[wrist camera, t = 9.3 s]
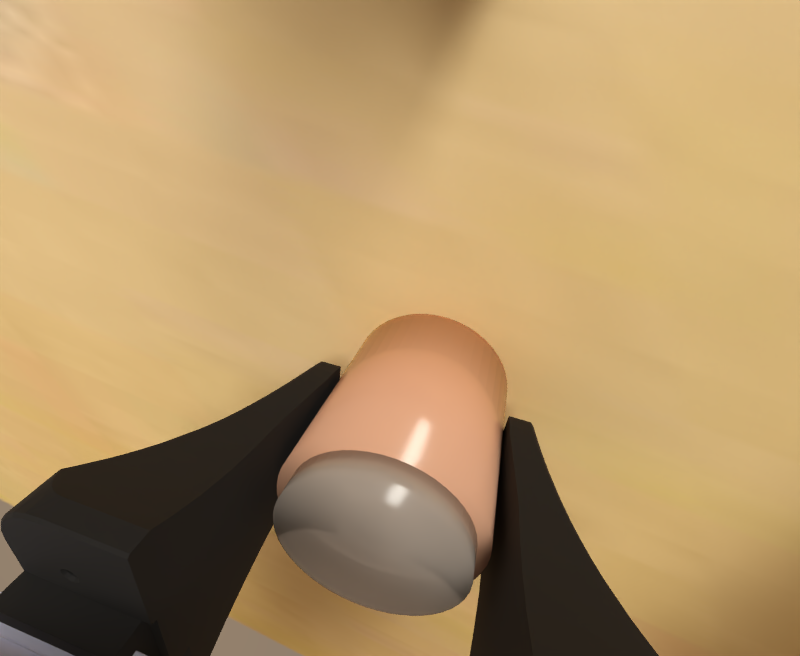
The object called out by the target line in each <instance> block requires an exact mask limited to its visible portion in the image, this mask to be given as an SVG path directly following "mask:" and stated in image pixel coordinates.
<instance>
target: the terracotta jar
mask: <svg viewBox="0 0 800 656" xmlns="http://www.w3.org/2000/svg"><path fill="white" fill-rule="evenodd" d="M506 397H507V379H506V373H505V370H504V367H503V364H502V363H501V361H500V359H499V357H498V355H497V354H496V352H495V351H494V349H493V348H492V347H491V346H490V345H489V344H488V342H487V341H486V340H485V339H483V338H482V337H481V336H480V335H479V334H478V333H476V332H475V331H473V330H472V329H470V328H469V327H467V326H465V325H463V324H461V323H459V322H456V321H454V320H451V319H448V318H445V317H441V316H436V315H428V314H413V315H405V316H401V317H397V318H394V319H392V320H389V321H387V322H385V323H384V324H382V325H380V326H379V327H378V328H376V329H375V330H374V331H373V332H372V333H371V334H370V335H369V336H368V337H367V339H366V340H365V342H364V343H363V345H362V346H361V348H360V349H359V351H358V352H357V354H356V356H355V357H354V359H353V360H352V362H351V363H350V365H349V366H348V368H347V369H346V371H345V372H344V374H343V375H342V377H341V378H340V380H339V381H338V383H337V384H336V386H335V387H334V389H333V390H332V392H331V393H330V395H329V396H328V398H327V399H326V401H325V402H324V404H323V405H322V407H321V408H320V410H319V411H318V413H317V414H316V416H315V417H314V419H313V420H312V422H311V424H310V425H309V427H308V428H307V430H306V431H305V433H304V434H303V436H302V437H301V439H300V440H299V442H298V443H297V445H296V446H295V448H294V449H293V451H292V452H291V454H290V455H289V457H288V458H287V460H286V461H285V463H284V464H283V466H282V467H281V470H280V472H279V475H278V480H277V496H278V499H277V501H276V504H275V506H274V511H273V524H274V528H275V532H276V535H277V537H278V540H279V541H280V543H281V545H282V547H283V548H284V550H285V551H286V553H287V554H288V555H289V557H290V558H291V559H292V560H293V561H294V562H295V563H296V565H298V566H299V567H300V568H301V569H302V570H303V571H304V572H305V573H306V574H307V575H309V576H310V577H311V578H312V579H314V580H315V581H316V582H318V583H319V584H321V585H322V586H324V587H325V588H327V589H328V590H330V591H332V592H333V593H335V594H337V595H339V596H341V597H343V598H345V599H347V600H350V601H352V602H354V603H357V604H359V605H362V606H365V607H368V608H371V609H374V610H378V611H382V612H386V613H391V614H398V615H409V616H423V615H432V614H437V613H441V612H444V611H447V610H449V609H452V608H453V607H455V606H457V605H458V604H460V603H461V602H462V601H463V600H464V599H465V598H466V596H467V595H468V594H469V592H470V590H471V587H472V584H473V580H474V579H475V578H476V577H478V576H479V575H480V574H481V573H482V572H483V570H484V569H485V567H486V566H487V564H488V562H489V559H490V557H491V552H492V545H493V534H494V524H495V513H496V503H497V492H498V481H499V471H500V460H501V450H502V439H503V429H504V418H505V407H506Z"/></svg>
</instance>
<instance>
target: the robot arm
mask: <svg viewBox="0 0 800 656" xmlns="http://www.w3.org/2000/svg"><path fill="white" fill-rule="evenodd" d="M340 368H341V367H339V366H336V365H332V364H329V363H326V362H320V363H318V364H317V365H315V366H313V367H312V368H310V369H309V370H307V371H306V372H304V373H303V374H301V375H299V376H298V377H296V378H295V379H293V380H292V381H290V382H289V383H287V384H285V385H284V386H282V387H280V388H279V389H277V390H275V391H274V392H272V393H270V394H269V395H267V396H265V397H264V398H262V399H260V400H258V401H257V402H255V403H253V404H251V405H249V406H247V407H245V408H244V409H242V410H240V411H238V412H236V413H234V414H232V415H230V416H228V417H226V418H224V419H222V420H219V421H217V422H215V423H213V424H210V425H208V426H206V427H203V428H201V429H199V430H196V431H193V432H190V433H188V434H185V435H182V436H180V437H177V438H174V439H171V440H169V441H166V442H163V443H160V444H157V445H154V446H151V447H147V448H144V449H141V450H138V451H134V452H130V453H127V454H123V455H120V456H116V457H112V458H108V459H104V460H99V461H95V462H91V463H86V464H82V465H78V466H73V467H69V468H64V469H61V470H59V471H58V472H57V473H55V474H54V475H53V476H52V477H50V478H49V479H48V480H47V481H45V482H44V483H43V484H42V485H40V486H39V487H38V488H37V489H35V490H34V491H33V492H32V493H31V494H29V495H28V496H27V497H26V498H24V499H23V500H22V501H21V502H19V503H18V504H17V505H16V506H15V507H13V508H12V509H11V510H10V511H8V512H7V513H6V514H5V515H4V516H3V518H2V521H1V531H2V533H3V535H4V537H5V540H6V541H7V543H8V545H9V546H10V548H11V550H12V551H13V553H14V554H15V556H16V558H17V559H18V561H19V563H20V564H21V566H22V568H23V569H24V572H23V573H22V574H21V575H19V576H18V578H16V579H15V580H14V581H13V582H12V583H11V584H10V585H9V586H8V587H7V588H6V589H5V590H4V591H3V592H2V591H0V656H210V655H211V653H212V650H213V648H214V646H215V644H216V641H217V639H218V637H219V635H220V632H221V630H222V628H223V626H224V623H225V621H226V619H227V617H228V615H229V613H230V611H231V609H232V607H233V604H234V602H235V600H236V598H237V596H238V594H239V592H240V590H241V588H242V585H243V583H244V581H245V579H246V577H247V575H248V573H249V571H250V569H251V567H252V565H253V563H254V561H255V559H256V557H257V555H258V553H259V551H260V549H261V547H262V545H263V543H264V541H265V539H266V537H267V535H268V534H269V532H270V530H271V528H272V526H273V511H274V506H275V504H276V501H277V499H278V496H277V480H278V475H279V472H280V470H281V467H282V466H283V464H284V463H285V461H286V460H287V458H288V457H289V455H290V454H291V452H292V451H293V449H294V448H295V446H296V445H297V443H298V442H299V440H300V439H301V437H302V436H303V434H304V433H305V431H306V430H307V428H308V427H309V425H310V424H311V422H312V420H313V419H314V417H315V416H316V414H317V413H318V411H319V410H320V408H321V407H322V405H323V404H324V402H325V401H326V399H327V398H328V396H329V395H330V393H331V392H332V390H333V389H334V387H335V386H336V384H337V383H338V381H339V380H340ZM470 656H659V655H658V654H657V653H656V652H655V650H654V649H653V648H652V646H651V645H650V644H649V642H648V641H647V640H646V638H645V637H644V636H643V635H642V633H641V632H640V631H639V629H638V628H637V627H636V625H635V624H634V623H633V621H632V620H631V618H630V617H629V616H628V614H627V613H626V611H625V610H624V608H623V607H622V605H621V604H620V602H619V601H618V599H617V598H616V597H615V595H614V594H613V592H612V591H611V589H610V588H609V586H608V585H607V583H606V582H605V580H604V579H603V577H602V575H601V574H600V572H599V571H598V569H597V567H596V566H595V564H594V562H593V561H592V559H591V557H590V556H589V554H588V552H587V550H586V549H585V547H584V545H583V543H582V542H581V540H580V538H579V536H578V534H577V532H576V530H575V528H574V527H573V525H572V523H571V521H570V519H569V516H568V514H567V512H566V510H565V508H564V506H563V504H562V502H561V500H560V497H559V495H558V493H557V491H556V488H555V486H554V483H553V481H552V478H551V476H550V474H549V471H548V469H547V466H546V463H545V461H544V458H543V455H542V452H541V449H540V446H539V443H538V440H537V437H536V434H535V431H534V427H533V425H532V424H531V422H527V421H524V420H520V419H517V418H514V417H510V416H509V418H508V421H507V423H506V426H505V428H504V431H503V439H502V450H501V460H500V471H499V481H498V492H497V503H496V513H495V524H494V534H493V545H492V552H491V557H490V559H489V562H488V564H487V566H486V567H485V569H484V570H483V572H482V573H481V580H480V591H479V599H478V605H477V612H476V619H475V626H474V633H473V639H472V645H471V652H470Z"/></svg>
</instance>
